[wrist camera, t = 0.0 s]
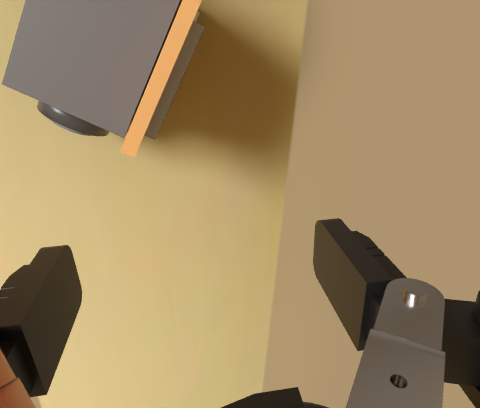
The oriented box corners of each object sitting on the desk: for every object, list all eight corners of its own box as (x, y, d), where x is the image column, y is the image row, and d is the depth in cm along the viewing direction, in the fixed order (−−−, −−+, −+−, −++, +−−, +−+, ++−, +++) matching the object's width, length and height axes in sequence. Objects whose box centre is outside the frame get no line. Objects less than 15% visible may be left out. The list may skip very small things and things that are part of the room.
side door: (186, 5, 34) (188, -16, 21) (203, 15, 35) (216, 1, 22) (141, 111, 38) (119, 151, 24) (158, 119, 38) (145, 162, 25)
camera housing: (89, -59, 32) (52, -97, 23) (185, -2, 34) (186, -16, 25) (41, 92, 36) (-6, 110, 27) (130, 132, 39) (114, 160, 30)
